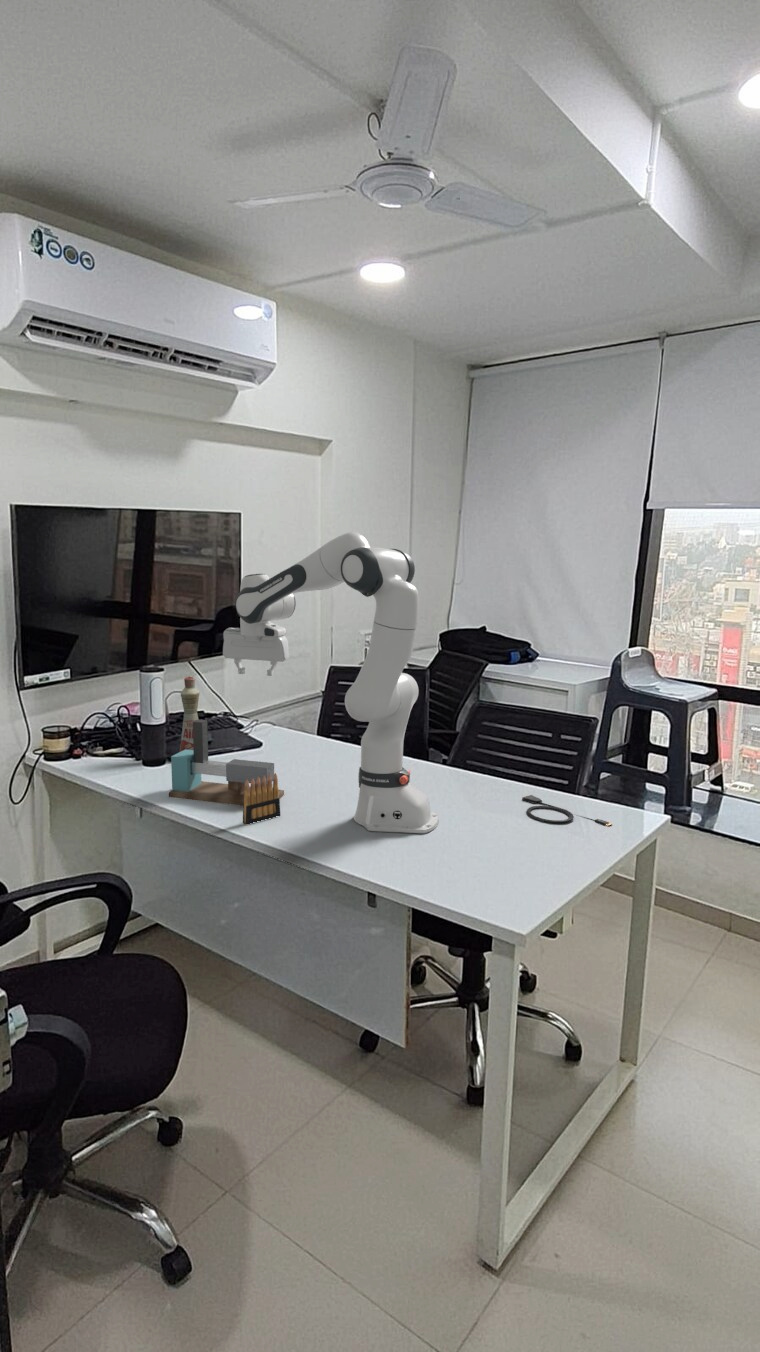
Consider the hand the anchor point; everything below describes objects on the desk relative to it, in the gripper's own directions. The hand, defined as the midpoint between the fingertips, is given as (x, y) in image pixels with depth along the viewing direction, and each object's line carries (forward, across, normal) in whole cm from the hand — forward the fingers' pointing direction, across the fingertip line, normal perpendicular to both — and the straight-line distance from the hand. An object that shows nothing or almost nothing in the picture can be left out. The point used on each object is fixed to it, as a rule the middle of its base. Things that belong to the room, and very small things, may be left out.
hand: (255, 674), depth 233 cm
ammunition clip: (+33, +15, -30) cm, 47 cm away
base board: (+33, -2, -16) cm, 37 cm away
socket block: (+32, -15, -16) cm, 38 cm away
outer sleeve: (+28, +5, -16) cm, 32 cm away
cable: (+34, +89, -2) cm, 96 cm away
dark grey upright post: (+27, -7, -16) cm, 32 cm away
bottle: (+33, -31, +16) cm, 48 cm away
